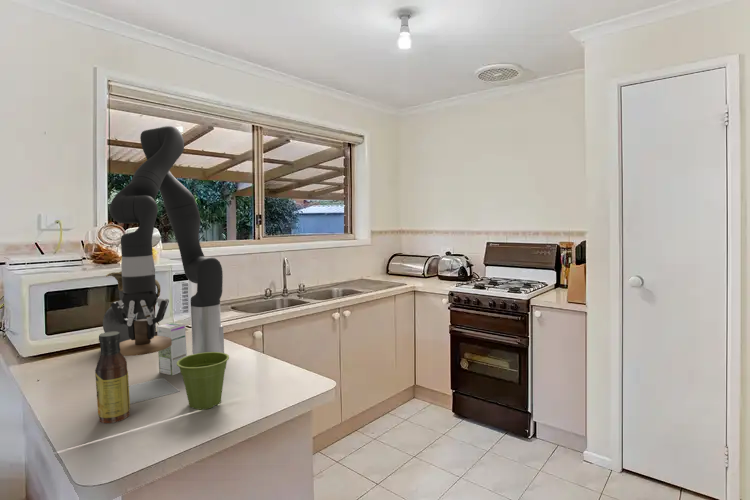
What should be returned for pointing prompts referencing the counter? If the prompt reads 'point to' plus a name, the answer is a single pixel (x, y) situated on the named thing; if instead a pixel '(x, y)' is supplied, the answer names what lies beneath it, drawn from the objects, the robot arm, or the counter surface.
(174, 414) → the counter surface
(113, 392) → the sauce bottle
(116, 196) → the robot arm
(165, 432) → the counter surface
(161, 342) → the walnut lid
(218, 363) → the plant pot
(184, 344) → the syrup box
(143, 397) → the rubber mat
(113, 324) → the pitcher
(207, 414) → the counter surface
